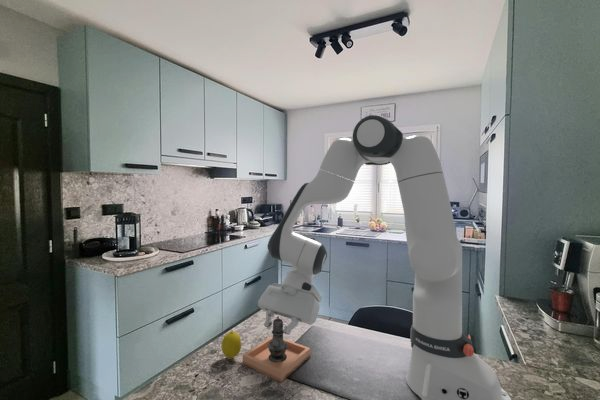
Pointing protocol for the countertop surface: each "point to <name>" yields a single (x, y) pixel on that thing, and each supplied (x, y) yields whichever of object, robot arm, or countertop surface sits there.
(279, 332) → the dark grey chess piece
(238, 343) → the lemon
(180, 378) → the countertop surface
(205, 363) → the countertop surface
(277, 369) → the tray
